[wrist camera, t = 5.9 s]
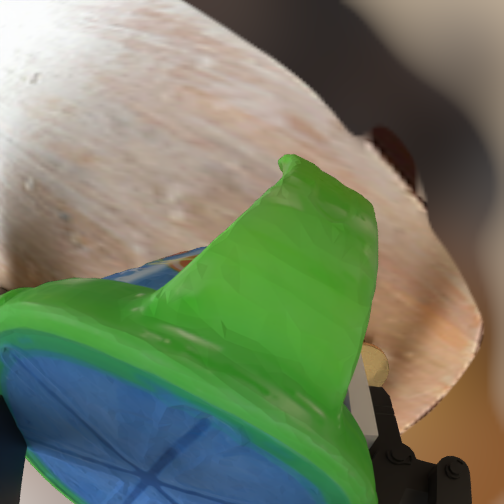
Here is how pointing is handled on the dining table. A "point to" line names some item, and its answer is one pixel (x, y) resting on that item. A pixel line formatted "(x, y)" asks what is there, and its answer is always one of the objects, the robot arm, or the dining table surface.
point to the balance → (374, 364)
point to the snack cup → (206, 362)
